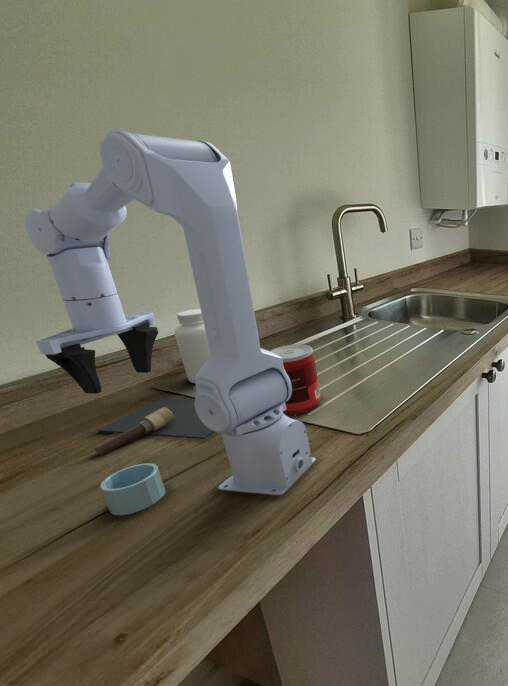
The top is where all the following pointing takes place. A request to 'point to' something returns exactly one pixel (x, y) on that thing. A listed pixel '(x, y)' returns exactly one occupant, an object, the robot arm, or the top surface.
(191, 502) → the top surface
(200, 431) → the mat
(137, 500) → the bowl
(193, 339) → the pill bottle
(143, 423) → the brush
